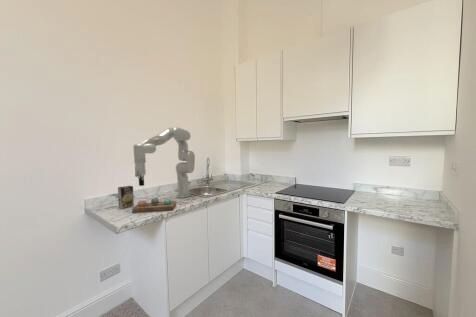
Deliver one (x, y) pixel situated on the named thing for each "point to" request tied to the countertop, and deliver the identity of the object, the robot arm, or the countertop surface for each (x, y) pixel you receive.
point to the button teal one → (167, 201)
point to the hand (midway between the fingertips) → (141, 185)
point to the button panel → (154, 207)
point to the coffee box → (125, 197)
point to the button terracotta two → (142, 203)
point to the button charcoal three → (154, 201)
